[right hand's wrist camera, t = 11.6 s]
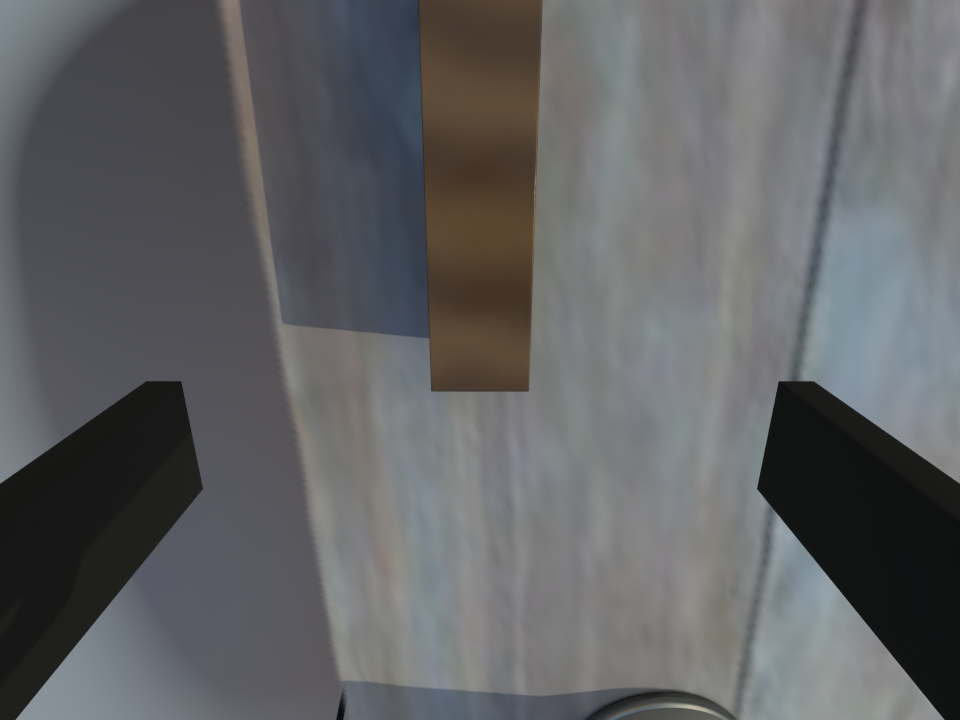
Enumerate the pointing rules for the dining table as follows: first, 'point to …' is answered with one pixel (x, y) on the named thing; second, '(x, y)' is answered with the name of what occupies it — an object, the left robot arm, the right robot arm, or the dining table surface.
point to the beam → (480, 187)
